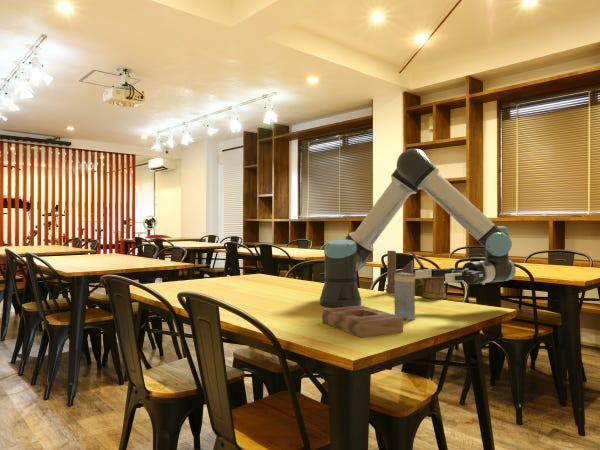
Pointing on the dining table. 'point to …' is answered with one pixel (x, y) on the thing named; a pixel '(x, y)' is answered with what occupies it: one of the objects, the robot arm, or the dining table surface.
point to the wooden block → (392, 270)
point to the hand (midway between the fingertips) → (430, 276)
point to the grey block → (405, 295)
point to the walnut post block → (362, 321)
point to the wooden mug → (431, 284)
